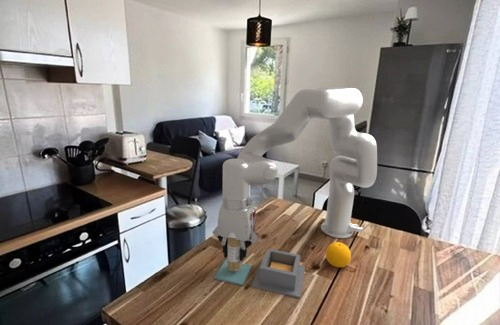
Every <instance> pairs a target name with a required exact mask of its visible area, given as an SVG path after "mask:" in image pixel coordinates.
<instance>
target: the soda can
mask: <svg viewBox="0 0 500 325" xmlns="http://www.w3.org/2000/svg"><path fill="white" fill-rule="evenodd" d="M251 208H252V214H253V231H254V232H255V233H256V220H257V217H256V216H257V210H256V208H255V207H254V206H253V205H251ZM249 239H252V238H251V237H250V238H249Z"/></svg>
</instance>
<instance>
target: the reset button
mask: <svg viewBox="0 0 500 325" xmlns="http://www.w3.org/2000/svg"><path fill="white" fill-rule="evenodd" d="M270 268H275V269H279V270H284V271H288V272H292V271H293V266H291V265H286V264H282V263H277V262H271V265H270Z"/></svg>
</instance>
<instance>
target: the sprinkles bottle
mask: <svg viewBox="0 0 500 325" xmlns="http://www.w3.org/2000/svg"><path fill="white" fill-rule="evenodd" d="M229 237H230V238H228V243H227V257H226V258H227V260H228V265H227V268H228V269H229V270H230V271H238V270H240V269H241V267H242V265H241V263H242V261H240V249H241V242H240V240H236V239H235V238H236V237H235V234H234V233H230V235H229Z"/></svg>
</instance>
